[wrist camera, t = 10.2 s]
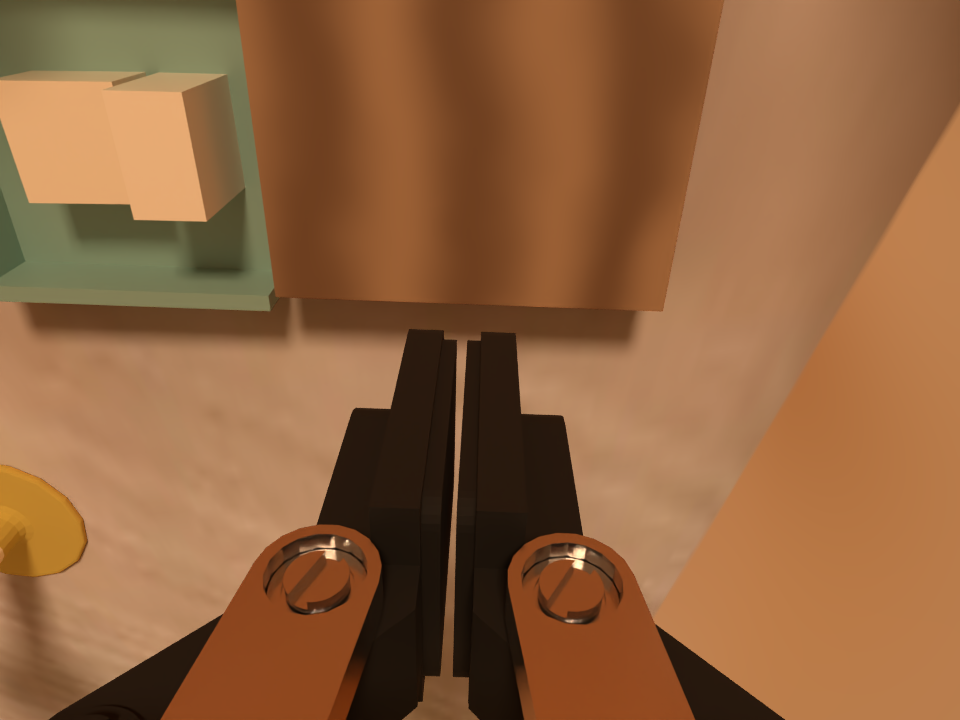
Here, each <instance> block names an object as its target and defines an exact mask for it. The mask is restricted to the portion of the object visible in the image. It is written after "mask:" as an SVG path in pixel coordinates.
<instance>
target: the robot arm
mask: <svg viewBox="0 0 960 720" xmlns="http://www.w3.org/2000/svg"><path fill="white" fill-rule="evenodd" d="M456 359H457V340H444V331H443V330H416V329H409V331H408V335H407V339H406V344H405V348H404V353H403V357H402V361H401V366H400V370H399V375H398V379H397V383H396V388H395V392H394V397H393V401H392V405H391V409H373V408H355V409H354V410H353V412H352V414H351V417H350V420H349V423H348V426H347V430H346V433H345V436H344V439H343V442H342V446H341V449H340V452H339V455H338V458H337V462H336V465H335V468H334V471H333V474H332V478H331V481H330V484H329V487H328V490H327V494H326V497H325V500H324V503H323V506H322V510H321V513H320V516H319V519H318V522H317V525H315V526H309V527H304V528H300V529H297V530H295V531H293V532H290V533H288V534H286V535H283V536H281V537H280V538H279V539H277V540H276V541H274V542H273V543H272V544H270V545H269V546H268V547H266V548H265V550H264V551H263V552H262V553H261V554H260V556H259V557H258V558H257V559H256V561H255V562H254V563H253V565H252V567H251V569H250V570H249V572H248V574H247V575H246V577H245V579H244V580H243V582H242V584H241V585H240V587H239V589H238V590H237V592H236V594H235V595H234V597H233V599H232V600H231V602H230V604H229V605H228V607H227V609H226V611H225V612H224V614H222V615H221V616H219V617H217V618H216V619H214V620H212V621H211V622H209V623H207V624H206V625H204V626H202V627H201V628H199V629H197V630H196V631H194V632H192V633H191V634H189V635H187V636H185V637H184V638H182V639H180V640H179V641H177V642H175V643H174V644H172V645H170V646H169V647H167V648H165V649H164V650H162V651H160V652H159V653H157V654H155V655H154V656H152V657H150V658H149V659H147V660H145V661H144V662H142V663H140V664H139V665H137V666H135V667H134V668H132V669H130V670H129V671H127V672H125V673H124V674H122V675H120V676H119V677H117V678H115V679H114V680H112V681H110V682H109V683H107V684H105V685H104V686H102V687H100V688H99V689H97V690H95V691H94V692H92V693H90V694H89V695H87V696H85V697H84V698H82V699H80V700H79V701H77V702H75V703H74V704H72V705H70V706H69V707H67V708H65V709H64V710H62V711H60V712H58V713H57V714H56V715H54V716H53V717H52V718H50V719H49V720H402V719H403V718H404V717H406V716H407V715H408V714H409V713H410V712H412V711H413V710H414V709H415V708H416V707H417V705H418V702H422V701H423V691H424V680H425V676H440V671H441V658H442V644H443V630H444V616H445V602H446V588H447V574H448V560H449V546H450V532H451V518H452V504H453V490H454V460H455V409H456ZM453 677H469V695H468V703H469V709H470V710H471V711H472V712H473V713H474V714H475V715H476V716H477V717H478V719H479V720H785V719H783V718H782V717H781V716H779V715H778V714H776V713H775V712H774V711H772V710H771V709H770V708H768V707H767V706H766V705H764V704H763V703H762V702H760V701H759V700H757V699H756V698H755V697H754V696H752V695H750V694H749V693H748V692H747V691H745V690H744V689H743V688H741V687H740V686H739V685H737V684H736V683H734V682H733V681H732V680H730V679H729V678H728V677H726V676H725V675H724V674H722V673H721V672H720V671H718V670H717V669H715V668H714V667H713V666H711V665H710V664H708V663H707V662H706V661H705V660H703V659H702V658H700V657H699V656H698V655H696V654H695V653H694V652H692V651H691V650H690V649H688V648H687V647H686V646H684V645H683V644H682V643H680V642H679V641H677V640H676V639H675V638H673V637H672V636H671V635H669V634H668V633H667V632H665V631H664V630H662V629H661V628H660V627H658V626H657V625H656V624H655V623H654V621H653V618H652V616H651V614H650V611H649V609H648V607H647V604H646V602H645V600H644V597H643V595H642V592H641V590H640V588H639V585H638V583H637V581H636V578H635V576H634V574H633V572H632V571H631V569H630V568H629V566H628V564H627V563H626V561H625V560H624V559H623V558H622V557H621V556H620V555H618V554H617V553H616V552H615V551H614V550H613V549H612V548H610V547H608V546H607V545H605V544H603V543H601V542H599V541H597V540H595V539H593V538H589V537H586V536H583V532H582V526H581V520H580V513H579V507H578V501H577V495H576V489H575V482H574V476H573V470H572V464H571V458H570V452H569V445H568V439H567V433H566V427H565V422H564V418H563V416H561V415H534V414H521V406H520V391H519V377H518V362H517V347H516V334H515V333H495V332H481V341H470V340H468V341H467V356H466V372H465V388H464V404H463V420H462V436H461V452H460V468H459V484H458V501H457V525H456V566H455V609H454V652H453Z"/></svg>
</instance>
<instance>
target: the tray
mask: <svg viewBox="0 0 960 720" xmlns="http://www.w3.org/2000/svg"><path fill="white" fill-rule="evenodd" d="M27 71H112V72H145V73H146V76H149V75H152V74H155V73H159V72H160V73H201V74H227V76H228V83H229V89H230V95H231V101H232V108H233V114H234V120H235V126H236V133H237V139H238V145H239V151H240V157H241V164H242V170H243V176H244V182H245V188H244V189H243V190H242V191H241V192H240V193H238V194H237V195H236V196H235V197H234V198H233V199H232V200H231V201H229V202H228V203H227V204H226V205H225V206H224V207H223V208H222V209H220V210H219V211H218V212H217V213H216V214H215V215H214V216H213V217H211V218H210V219H209V220H208V221H207V222H202V221H161V220H134V218H133V214H132V210H131V206H130V204H66V203H29V201H28V198H27V195H26V192H25V189H24V187H23V184H22V181H21V178H20V175H19V172H18V169H17V166H16V163H15V160H14V158H13V155H12V152H11V149H10V146H9V143H8V140H7V137H6V134H5V131H4V128H3V126H2V123H1V120H0V301H6V302H33V303H60V304H87V305H114V306H141V307H169V308H196V309H223V310H250V311H271V310H272V308H273V307H274V305H275V304H276V302H277V300H278V299H279V297H276V296H275V289H274V282H273V274H272V267H271V259H270V252H269V244H268V237H267V229H266V222H265V215H264V207H263V200H262V192H261V185H260V177H259V170H258V162H257V155H256V148H255V140H254V133H253V125H252V118H251V110H250V103H249V95H248V88H247V81H246V73H245V66H244V58H243V51H242V43H241V36H240V28H239V21H238V14H237V6H236V0H0V77H4V76H9V75H13V74H18V73H23V72H27Z"/></svg>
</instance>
